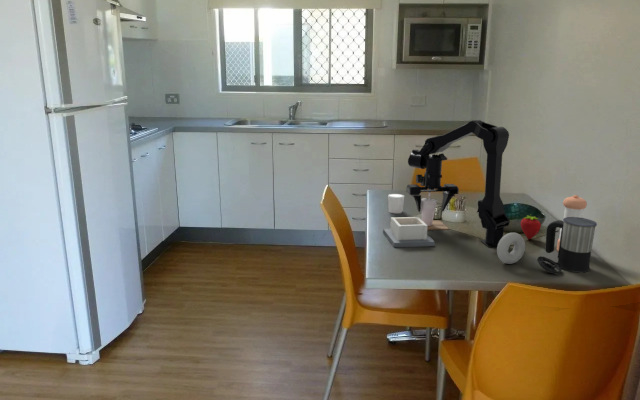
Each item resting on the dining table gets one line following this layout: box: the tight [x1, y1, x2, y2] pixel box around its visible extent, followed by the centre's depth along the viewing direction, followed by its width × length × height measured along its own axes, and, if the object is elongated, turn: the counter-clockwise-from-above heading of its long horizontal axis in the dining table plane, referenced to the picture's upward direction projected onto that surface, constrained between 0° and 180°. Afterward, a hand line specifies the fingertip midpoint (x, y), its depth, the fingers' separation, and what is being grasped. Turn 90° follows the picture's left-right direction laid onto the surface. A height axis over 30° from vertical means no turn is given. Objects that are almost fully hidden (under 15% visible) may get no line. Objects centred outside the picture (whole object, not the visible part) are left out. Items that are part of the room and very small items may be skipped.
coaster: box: [427, 219, 450, 231], centre depth 202 cm, size 11×11×1 cm
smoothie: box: [420, 192, 438, 226], centre depth 200 cm, size 6×6×14 cm
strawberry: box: [520, 215, 542, 240], centre depth 186 cm, size 6×8×10 cm
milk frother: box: [536, 217, 598, 275], centre depth 158 cm, size 14×16×15 cm
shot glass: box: [387, 193, 405, 214], centre depth 220 cm, size 7×7×7 cm
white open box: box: [382, 216, 436, 248], centre depth 185 cm, size 16×14×6 cm
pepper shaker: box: [556, 194, 588, 252], centre depth 173 cm, size 7×7×19 cm
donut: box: [496, 232, 526, 265], centre depth 163 cm, size 10×4×10 cm, turn 113°
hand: (430, 211), depth 200 cm, fingers open, 9 cm apart
